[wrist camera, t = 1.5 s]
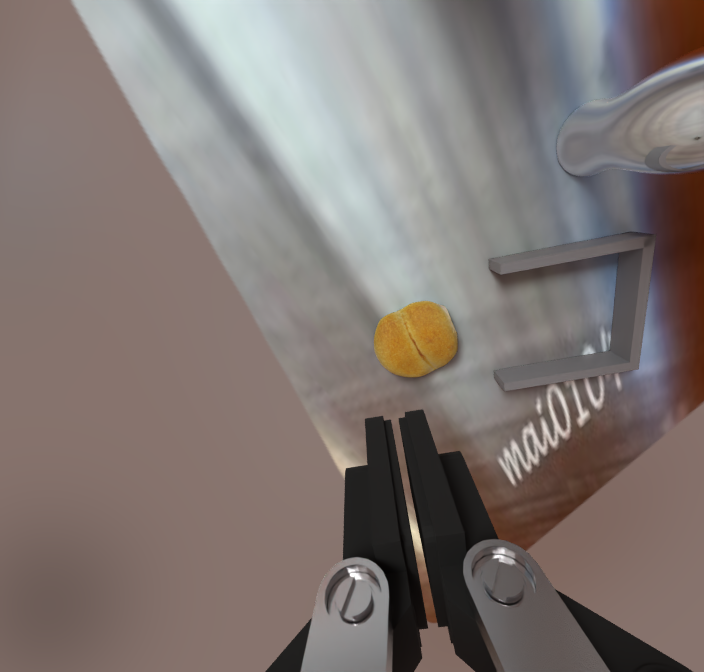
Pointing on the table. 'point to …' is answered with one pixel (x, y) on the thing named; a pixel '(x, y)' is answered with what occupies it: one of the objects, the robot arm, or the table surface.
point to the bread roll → (416, 339)
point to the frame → (626, 313)
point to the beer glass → (641, 125)
